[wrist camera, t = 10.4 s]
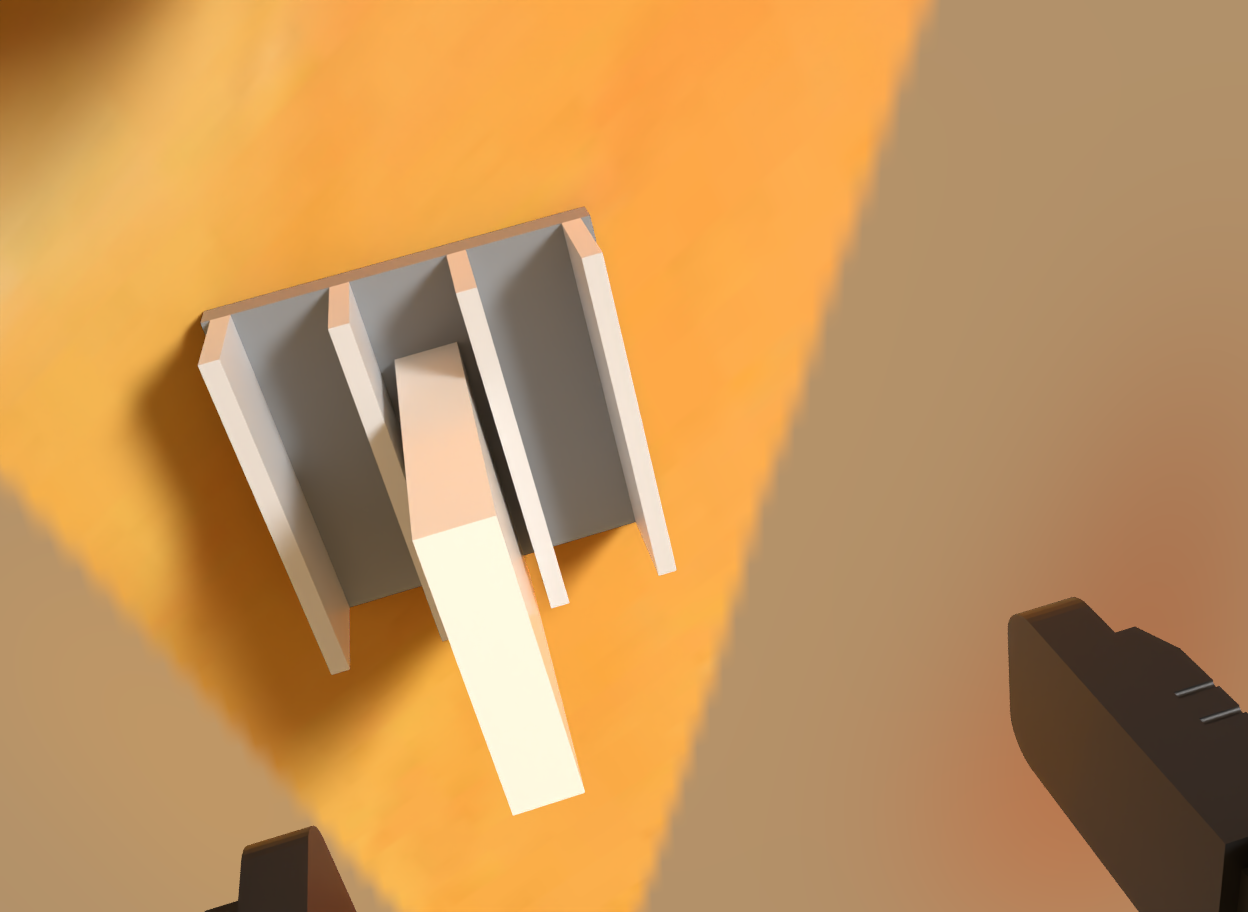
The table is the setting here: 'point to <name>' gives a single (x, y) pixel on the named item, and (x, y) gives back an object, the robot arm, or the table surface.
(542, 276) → the dish rack
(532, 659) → the cream upright slab
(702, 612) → the table surface
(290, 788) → the table surface
